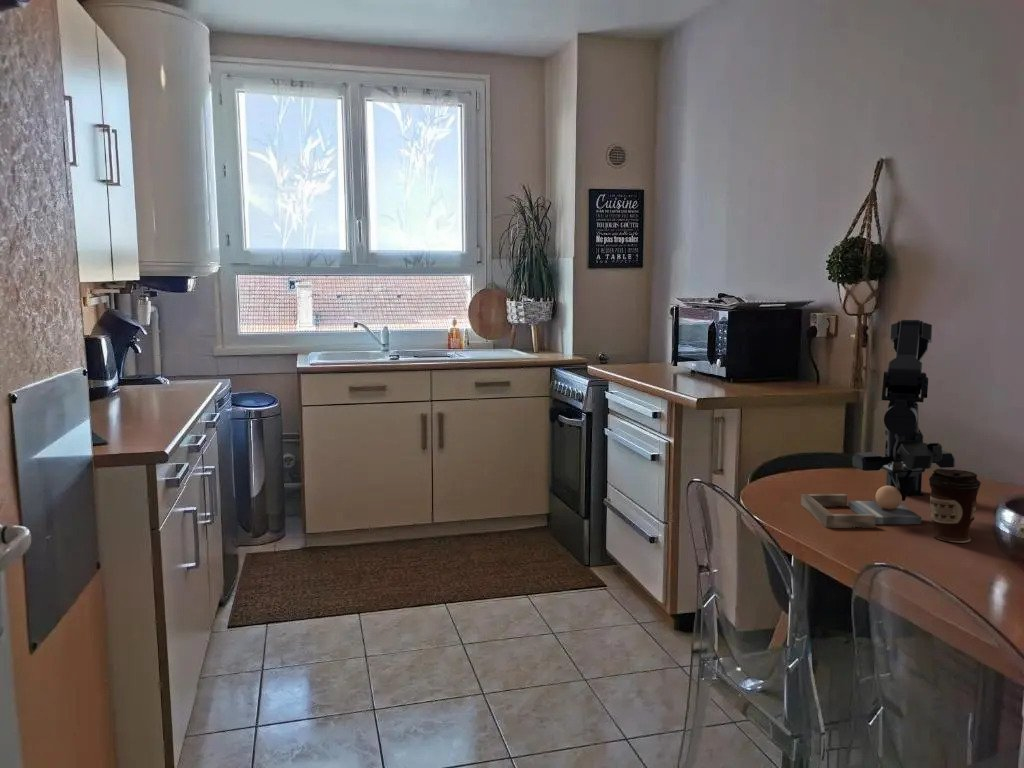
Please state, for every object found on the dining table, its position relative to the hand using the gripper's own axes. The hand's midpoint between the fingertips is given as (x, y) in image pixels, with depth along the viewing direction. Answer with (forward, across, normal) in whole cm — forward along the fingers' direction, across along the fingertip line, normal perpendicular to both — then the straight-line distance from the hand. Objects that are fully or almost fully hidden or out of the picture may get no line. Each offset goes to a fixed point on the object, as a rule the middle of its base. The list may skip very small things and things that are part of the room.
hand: (902, 500), depth 162 cm
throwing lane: (+3, -8, +1) cm, 9 cm away
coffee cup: (+4, +2, -14) cm, 15 cm away
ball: (-1, -3, 0) cm, 3 cm away
